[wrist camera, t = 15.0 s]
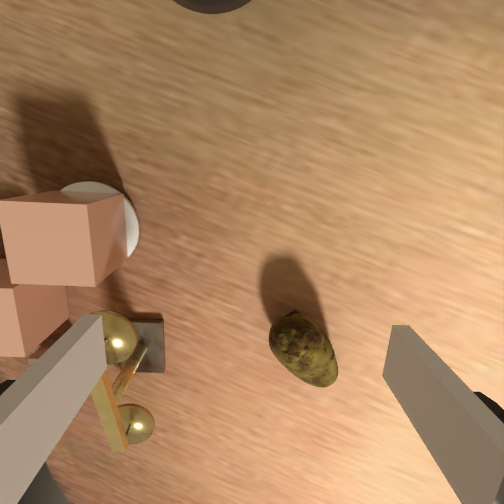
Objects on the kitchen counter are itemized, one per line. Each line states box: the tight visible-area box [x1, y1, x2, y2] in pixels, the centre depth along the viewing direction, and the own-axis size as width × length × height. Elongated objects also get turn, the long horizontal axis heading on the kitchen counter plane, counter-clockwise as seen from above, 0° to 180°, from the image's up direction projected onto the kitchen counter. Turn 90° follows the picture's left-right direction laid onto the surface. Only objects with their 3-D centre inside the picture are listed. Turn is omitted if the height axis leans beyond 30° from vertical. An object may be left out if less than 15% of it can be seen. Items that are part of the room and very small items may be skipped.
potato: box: [269, 310, 338, 387], centre depth 41 cm, size 8×13×8 cm, turn 13°
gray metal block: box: [28, 339, 57, 367], centre depth 43 cm, size 4×4×4 cm
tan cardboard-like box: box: [0, 258, 69, 357], centre depth 38 cm, size 8×8×9 cm
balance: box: [89, 310, 165, 453], centre depth 38 cm, size 21×6×15 cm, turn 177°
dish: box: [60, 181, 140, 257], centre depth 39 cm, size 11×11×1 cm
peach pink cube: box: [0, 190, 128, 287], centre depth 34 cm, size 8×8×9 cm
